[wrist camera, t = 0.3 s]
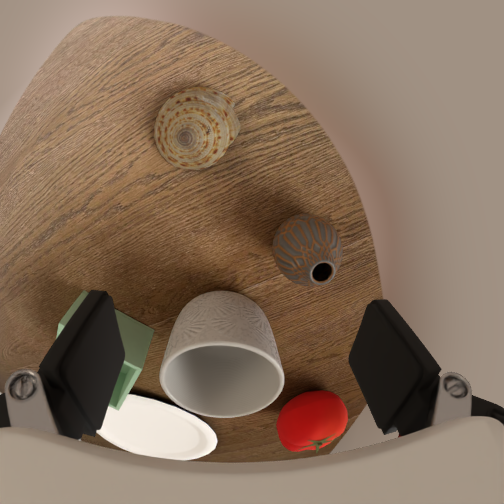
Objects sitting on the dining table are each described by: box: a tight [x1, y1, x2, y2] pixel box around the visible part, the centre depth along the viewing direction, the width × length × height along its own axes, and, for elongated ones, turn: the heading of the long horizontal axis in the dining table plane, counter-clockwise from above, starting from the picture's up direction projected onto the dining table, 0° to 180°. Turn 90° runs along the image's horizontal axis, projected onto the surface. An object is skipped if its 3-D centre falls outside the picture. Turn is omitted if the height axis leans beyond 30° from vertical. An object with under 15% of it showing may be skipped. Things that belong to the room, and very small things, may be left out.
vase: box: [273, 214, 343, 286], centre depth 27 cm, size 7×7×9 cm
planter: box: [159, 291, 284, 418], centre depth 30 cm, size 12×12×11 cm
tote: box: [56, 291, 154, 411], centre depth 31 cm, size 12×11×8 cm
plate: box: [96, 393, 218, 460], centre depth 44 cm, size 29×29×2 cm
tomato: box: [276, 390, 348, 453], centre depth 38 cm, size 11×13×10 cm
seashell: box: [154, 87, 240, 170], centre depth 24 cm, size 8×6×8 cm
